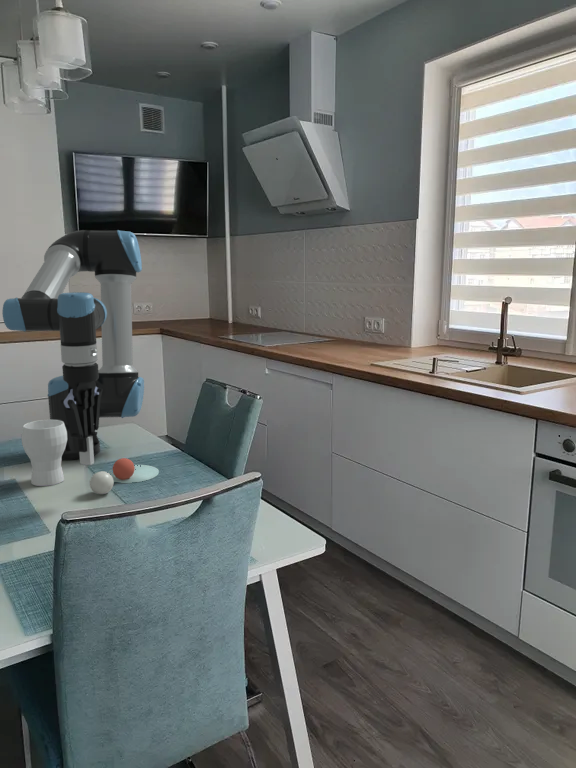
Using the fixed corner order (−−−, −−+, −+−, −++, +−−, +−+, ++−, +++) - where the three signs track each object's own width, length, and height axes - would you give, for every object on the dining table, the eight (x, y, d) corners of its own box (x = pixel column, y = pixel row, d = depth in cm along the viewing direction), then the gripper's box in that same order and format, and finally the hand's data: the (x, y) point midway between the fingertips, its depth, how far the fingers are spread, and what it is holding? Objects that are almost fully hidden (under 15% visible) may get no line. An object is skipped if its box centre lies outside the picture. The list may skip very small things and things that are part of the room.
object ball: (104, 465, 149) (116, 463, 154) (113, 484, 148) (125, 482, 153) (122, 455, 148) (132, 453, 153) (131, 474, 147) (141, 472, 152)
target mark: (95, 473, 155) (94, 472, 155) (142, 462, 164) (142, 461, 164) (120, 487, 145) (120, 486, 145) (169, 474, 154) (168, 473, 154)
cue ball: (85, 470, 140) (93, 486, 144) (87, 486, 136) (94, 502, 140) (108, 463, 141) (115, 479, 145) (110, 479, 137) (117, 494, 141)
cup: (25, 477, 152) (20, 421, 149) (68, 471, 156) (65, 417, 153) (25, 491, 142) (20, 431, 140) (71, 485, 146) (67, 427, 144)
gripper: (77, 369, 122) (85, 475, 128) (111, 358, 135) (116, 455, 140) (46, 367, 124) (55, 471, 129) (82, 357, 137) (89, 452, 142)
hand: (87, 463), depth 135 cm, fingers closed
